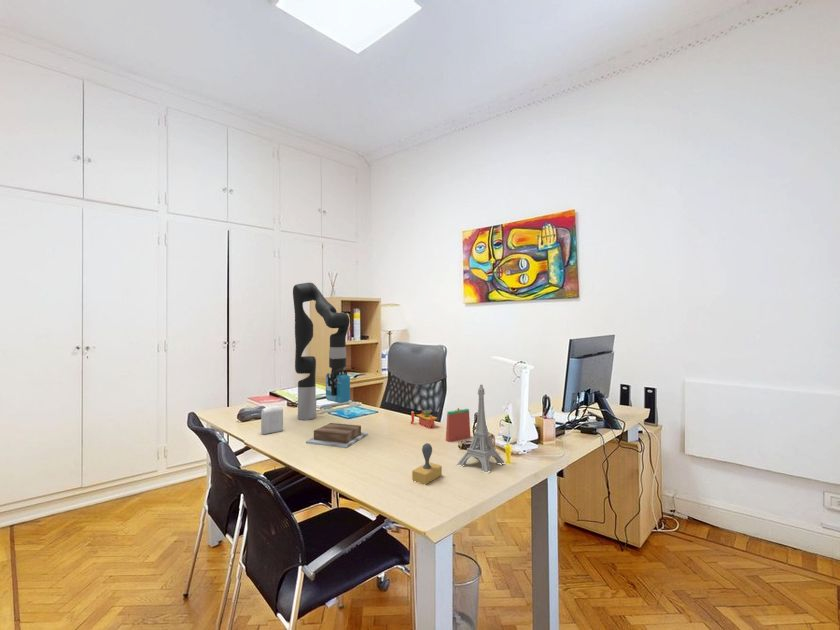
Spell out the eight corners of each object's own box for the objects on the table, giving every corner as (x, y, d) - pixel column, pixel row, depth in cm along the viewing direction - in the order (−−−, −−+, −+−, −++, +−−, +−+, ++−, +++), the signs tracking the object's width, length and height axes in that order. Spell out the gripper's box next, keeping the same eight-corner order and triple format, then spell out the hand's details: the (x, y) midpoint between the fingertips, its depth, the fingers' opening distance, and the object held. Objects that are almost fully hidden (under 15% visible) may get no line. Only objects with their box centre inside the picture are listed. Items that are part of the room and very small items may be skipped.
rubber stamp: (428, 472, 148) (428, 438, 148) (442, 475, 145) (442, 441, 145) (411, 481, 140) (411, 445, 140) (425, 485, 137) (425, 449, 137)
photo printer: (280, 429, 203) (280, 403, 203) (284, 430, 200) (284, 405, 200) (259, 433, 196) (259, 407, 196) (263, 435, 193) (263, 408, 193)
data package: (325, 399, 190) (325, 373, 189) (333, 398, 193) (333, 372, 193) (342, 403, 182) (342, 376, 182) (350, 402, 185) (350, 375, 185)
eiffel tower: (505, 463, 156) (505, 384, 156) (487, 474, 146) (487, 389, 146) (475, 456, 165) (475, 380, 165) (456, 465, 155) (456, 385, 155)
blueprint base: (330, 430, 200) (330, 420, 200) (367, 434, 193) (367, 424, 193) (305, 443, 181) (305, 432, 181) (346, 448, 175) (346, 436, 175)
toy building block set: (448, 442, 183) (448, 410, 183) (407, 424, 213) (407, 396, 212) (470, 437, 190) (470, 406, 190) (428, 420, 219) (428, 394, 219)
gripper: (338, 355, 195) (338, 390, 195) (321, 358, 182) (321, 396, 182) (352, 355, 193) (352, 392, 193) (336, 358, 179) (336, 398, 179)
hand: (337, 394), depth 187 cm, fingers closed on data package, 5 cm apart
